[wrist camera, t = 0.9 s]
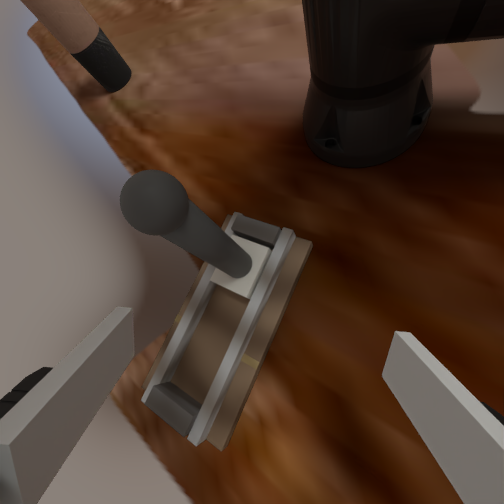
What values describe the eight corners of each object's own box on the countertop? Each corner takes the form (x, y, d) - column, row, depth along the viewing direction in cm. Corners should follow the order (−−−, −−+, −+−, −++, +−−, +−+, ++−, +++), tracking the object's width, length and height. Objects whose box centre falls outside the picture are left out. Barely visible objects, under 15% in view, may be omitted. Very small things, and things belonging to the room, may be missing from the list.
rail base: (232, 219, 36) (218, 203, 32) (313, 245, 31) (308, 231, 27) (149, 385, 32) (122, 391, 28) (227, 446, 27) (207, 464, 23)
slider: (239, 241, 33) (129, 135, 16) (274, 254, 30) (191, 148, 14) (218, 284, 32) (77, 221, 15) (253, 300, 30) (135, 248, 13)
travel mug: (114, 67, 59) (16, -52, 41) (138, 65, 56) (42, -63, 38) (99, 93, 58) (-10, -18, 40) (122, 93, 55) (15, -27, 37)
